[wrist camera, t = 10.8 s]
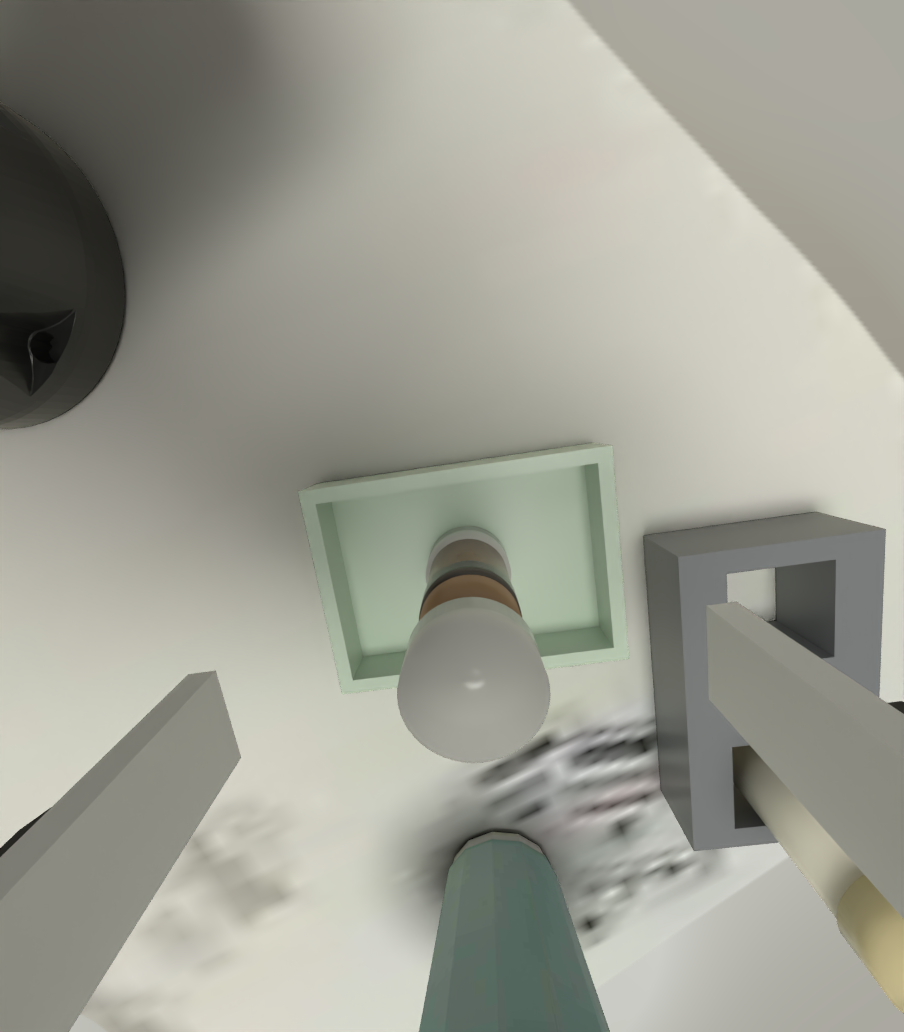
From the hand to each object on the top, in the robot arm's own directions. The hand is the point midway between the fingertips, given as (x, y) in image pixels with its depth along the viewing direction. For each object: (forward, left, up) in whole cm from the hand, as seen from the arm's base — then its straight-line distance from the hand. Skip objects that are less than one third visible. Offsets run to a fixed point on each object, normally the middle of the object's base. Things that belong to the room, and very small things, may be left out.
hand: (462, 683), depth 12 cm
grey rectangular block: (+8, +14, -13) cm, 21 cm away
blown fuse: (+1, 0, -12) cm, 12 cm away
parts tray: (0, 0, -13) cm, 13 cm away
